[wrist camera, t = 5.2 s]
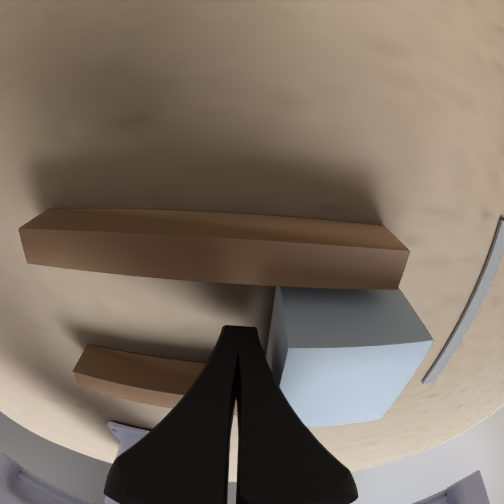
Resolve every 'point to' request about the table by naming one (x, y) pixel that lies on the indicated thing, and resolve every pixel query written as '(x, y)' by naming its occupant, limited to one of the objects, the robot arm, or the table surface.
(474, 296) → the strip
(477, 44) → the table surface
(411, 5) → the table surface
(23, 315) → the table surface
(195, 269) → the chute
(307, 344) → the block
